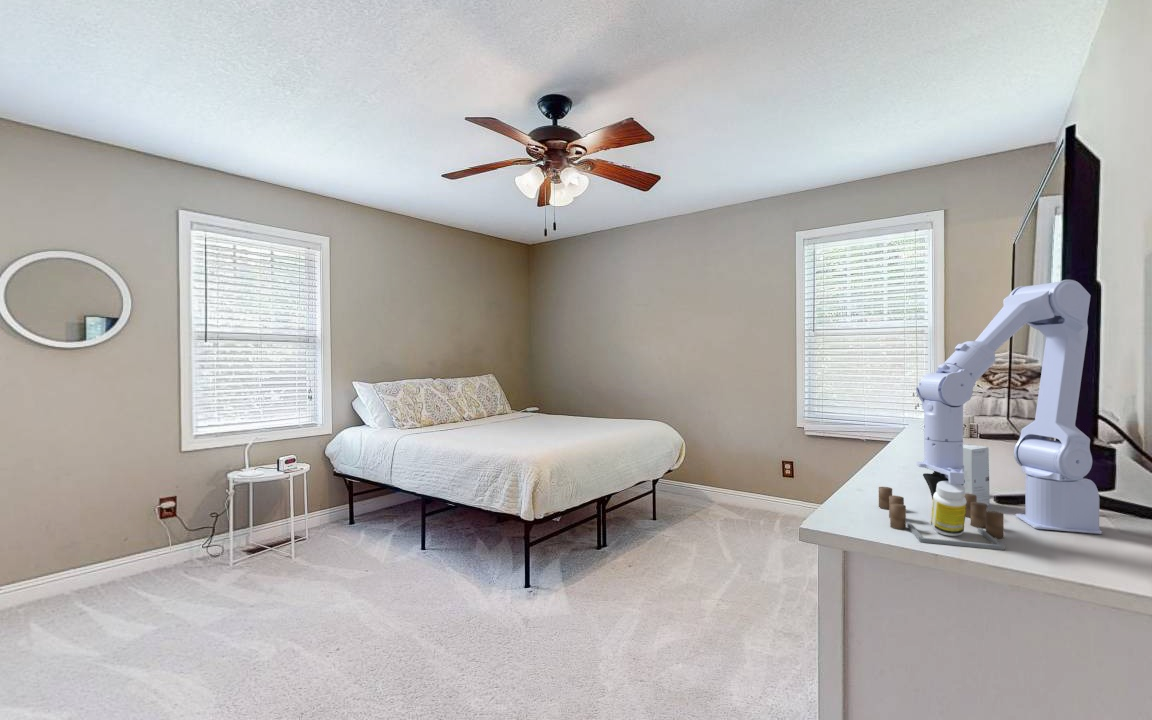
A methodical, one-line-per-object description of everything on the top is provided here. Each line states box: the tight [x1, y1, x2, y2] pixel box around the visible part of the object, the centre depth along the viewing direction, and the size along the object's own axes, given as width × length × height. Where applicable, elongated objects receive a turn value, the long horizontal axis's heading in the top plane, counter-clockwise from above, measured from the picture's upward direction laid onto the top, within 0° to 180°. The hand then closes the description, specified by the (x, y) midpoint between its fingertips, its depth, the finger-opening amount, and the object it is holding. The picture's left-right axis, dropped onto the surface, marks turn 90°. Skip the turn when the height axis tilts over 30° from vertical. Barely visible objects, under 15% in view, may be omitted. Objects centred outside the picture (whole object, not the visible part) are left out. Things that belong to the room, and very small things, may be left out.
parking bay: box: [906, 521, 1005, 551], centre depth 90 cm, size 12×9×1 cm
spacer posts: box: [878, 486, 1005, 539], centre depth 99 cm, size 17×15×4 cm
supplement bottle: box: [930, 481, 967, 537], centre depth 91 cm, size 5×5×8 cm
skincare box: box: [963, 444, 991, 507], centre depth 109 cm, size 6×4×12 cm
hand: (943, 515), depth 94 cm, fingers closed, pressing on supplement bottle
